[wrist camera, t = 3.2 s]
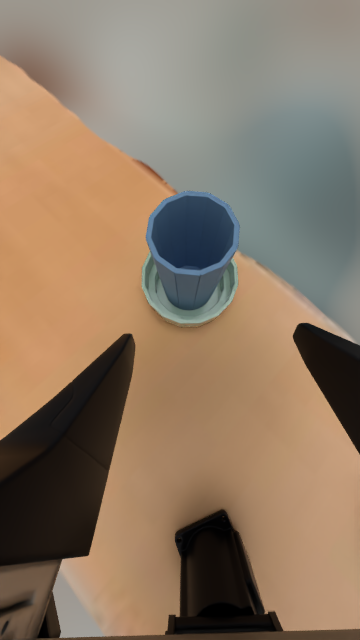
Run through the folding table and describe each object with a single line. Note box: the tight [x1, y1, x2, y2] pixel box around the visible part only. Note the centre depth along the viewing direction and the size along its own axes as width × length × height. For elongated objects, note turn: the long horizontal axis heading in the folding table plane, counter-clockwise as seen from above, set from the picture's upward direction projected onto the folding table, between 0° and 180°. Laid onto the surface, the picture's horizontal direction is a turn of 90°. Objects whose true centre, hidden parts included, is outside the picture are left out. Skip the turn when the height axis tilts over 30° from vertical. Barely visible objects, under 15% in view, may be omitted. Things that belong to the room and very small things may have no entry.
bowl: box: [142, 252, 238, 327], centre depth 22 cm, size 11×11×4 cm
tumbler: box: [146, 191, 240, 310], centre depth 18 cm, size 7×7×12 cm
